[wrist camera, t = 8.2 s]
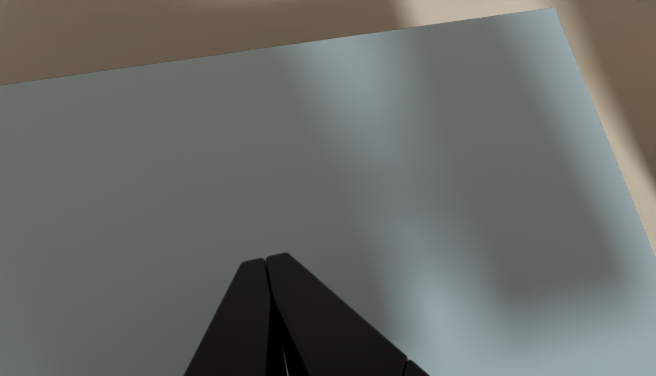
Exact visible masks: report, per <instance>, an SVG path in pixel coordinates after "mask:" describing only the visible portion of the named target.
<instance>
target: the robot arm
mask: <svg viewBox="0 0 656 376" xmlns="http://www.w3.org/2000/svg"><path fill="white" fill-rule="evenodd" d="M265 261H266V262H265ZM281 342H282V343H281ZM282 347H283V348H282ZM283 352H284V353H283ZM284 357H285V358H284ZM285 362H286V363H285ZM286 367H287V369H286ZM287 371H288V375H289V376H430V375H429V374H427V373H426V372H425V371H424V370H423V369H422V368H421V367H419V366H418V365H417V364H416V363H415V362H414V361H413V360H408V357H407V355H405V354H404V353H403V352H402V351H401V350H400V349H398V348H397V347H396V346H395V345H394V344H393V343H392V342H390V341H389V340H388V339H387V338H386V337H385V336H384V335H382V334H381V333H380V332H379V331H378V330H377V329H375V328H374V327H373V326H372V325H371V324H370V323H369V322H367V321H366V320H365V319H364V318H363V317H362V316H361V315H359V314H358V313H357V312H356V311H355V310H354V309H352V308H351V307H350V306H349V305H348V304H347V303H346V302H344V301H343V300H342V299H341V298H340V297H339V296H338V295H336V294H335V293H334V292H333V291H332V290H331V289H329V288H328V287H327V286H326V285H325V284H324V283H323V282H321V281H320V280H319V279H318V278H317V277H316V276H315V275H313V274H312V273H311V272H310V271H309V270H308V269H306V268H305V267H304V266H303V265H302V264H301V263H300V262H298V261H297V260H296V259H295V258H294V257H293V256H292V255H290V254H289V253H287V252H284V253H279V254H275V255H270V256H267V257H266V259H265V260H264V259H263V258H257V259H252V260H248V261H244V262H242V263H241V264H240V266H239V267H238V269H237V271H236V273H235V275H234V277H233V279H232V281H231V283H230V285H229V287H228V289H227V291H226V293H225V295H224V297H223V299H222V301H221V303H220V305H219V307H218V309H217V310H216V312H215V314H214V316H213V318H212V320H211V322H210V324H209V326H208V328H207V330H206V332H205V334H204V336H203V338H202V340H201V342H200V344H199V346H198V348H197V350H196V352H195V353H194V355H193V357H192V359H191V361H190V363H189V365H188V367H187V369H186V371H185V373H184V375H183V376H288V375H287Z"/></svg>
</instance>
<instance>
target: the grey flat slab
mask: <svg viewBox="0 0 656 376" xmlns="http://www.w3.org/2000/svg"><path fill="white" fill-rule="evenodd" d="M284 252H287V253H289V254H290V255H292V256H293V257H294V258H295V259H296V260H297V261H298V262H300V263H301V264H302V265H303V266H304V267H305V268H306V269H308V270H309V271H310V272H311V273H312V274H313V275H315V276H316V277H317V278H318V279H319V280H320V281H321V282H323V283H324V284H325V285H326V286H327V287H328V288H329V289H331V290H332V291H333V292H334V293H335V294H336V295H338V296H339V297H340V298H341V299H342V300H343V301H344V302H346V303H347V304H348V305H349V306H350V307H351V308H352V309H354V310H355V311H356V312H357V313H358V314H359V315H361V316H362V317H363V318H364V319H365V320H366V321H367V322H369V323H370V324H371V325H372V326H373V327H374V328H375V329H377V330H378V331H379V332H380V333H381V334H382V335H384V336H385V337H386V338H387V339H388V340H389V341H390V342H392V343H393V344H394V345H395V346H396V347H397V348H398V349H400V350H401V351H402V352H403V353H404V354H405V355H407V357H408V360H413V361H414V362H415V363H416V364H417V365H418V366H419V367H421V368H422V369H423V370H424V371H425V372H426V373H427V374H429V375H430V376H656V257H655V255H654V253H653V250H652V248H651V245H650V243H649V240H648V238H647V235H646V233H645V230H644V228H643V225H642V223H641V220H640V218H639V215H638V213H637V210H636V208H635V205H634V203H633V200H632V198H631V196H630V193H629V191H628V188H627V186H626V183H625V181H624V178H623V176H622V173H621V171H620V168H619V166H618V163H617V161H616V158H615V156H614V153H613V151H612V148H611V146H610V144H609V141H608V139H607V136H606V134H605V131H604V129H603V126H602V124H601V121H600V119H599V116H598V114H597V111H596V109H595V106H594V104H593V101H592V99H591V96H590V94H589V92H588V89H587V87H586V84H585V82H584V79H583V77H582V74H581V72H580V69H579V67H578V64H577V62H576V59H575V57H574V54H573V52H572V49H571V47H570V44H569V42H568V40H567V37H566V35H565V32H564V30H563V27H562V25H561V22H560V20H559V17H558V15H557V12H556V10H555V7H554V8H547V9H540V10H532V11H525V12H518V13H511V14H504V15H497V16H490V17H483V18H476V19H468V20H461V21H454V22H447V23H440V24H433V25H426V26H419V27H412V28H404V29H397V30H390V31H383V32H376V33H369V34H362V35H355V36H348V37H340V38H333V39H326V40H319V41H312V42H305V43H298V44H291V45H284V46H276V47H269V48H262V49H255V50H248V51H241V52H234V53H227V54H220V55H212V56H205V57H198V58H191V59H184V60H177V61H170V62H163V63H155V64H148V65H141V66H134V67H127V68H120V69H113V70H106V71H99V72H91V73H84V74H77V75H70V76H63V77H56V78H49V79H42V80H35V81H27V82H20V83H13V84H6V85H0V376H183V375H184V373H185V371H186V369H187V367H188V365H189V363H190V361H191V359H192V357H193V355H194V353H195V352H196V350H197V348H198V346H199V344H200V342H201V340H202V338H203V336H204V334H205V332H206V330H207V328H208V326H209V324H210V322H211V320H212V318H213V316H214V314H215V312H216V310H217V309H218V307H219V305H220V303H221V301H222V299H223V297H224V295H225V293H226V291H227V289H228V287H229V285H230V283H231V281H232V279H233V277H234V275H235V273H236V271H237V269H238V267H239V266H240V264H241V263H242V262H244V261H248V260H252V259H257V258H263V259H264V260H265V259H266V257H267V256H270V255H275V254H279V253H284ZM265 262H266V261H265ZM281 343H282V342H281ZM282 348H283V347H282ZM283 353H284V352H283ZM284 358H285V357H284ZM285 363H286V362H285ZM286 369H287V367H286ZM287 375H288V371H287ZM288 376H289V375H288Z"/></svg>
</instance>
